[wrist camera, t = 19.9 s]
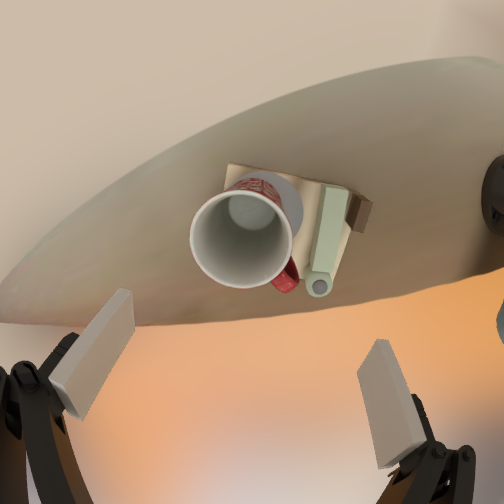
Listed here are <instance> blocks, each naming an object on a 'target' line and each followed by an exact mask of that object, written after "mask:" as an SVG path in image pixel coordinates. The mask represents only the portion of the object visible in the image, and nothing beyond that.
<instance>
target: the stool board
mask: <svg viewBox="0 0 504 504" xmlns="http://www.w3.org/2000/svg"><path fill="white" fill-rule="evenodd" d="M259 171H262V172H271V173H275V174H277V175H280V176H282V177H283V178H285V179H286V180H288V181H289V182H290V183H291V184H292V185H293V186H294V187H295V188H296V190H297V191H298V193H299V195H300V197H301V200H302V204H303V211H304V213H303V221H302V224H301V227H300V229H299V231H298V233H297V234H296V236H295V237H294V238H293V248H292V253H291V256H292V258H293V260H294V262H295V265H296V268H297V270H298V274H299V279H305V278H304V271H305V269H306V267H307V266H308V265H310V261H309V260H310V255H311V249H312V244H313V238H314V232H315V226H316V220H317V214H318V207H319V201H320V194H321V187H322V182H318V181H314V180H310V179H306V178H302V177H297V176H293V175H289V174H284V173H280V172H275V171H271V170H266V169H261V168H256V167H251V166H246V165H240V164H235V163H229V164H228V168H227V173H226V179H225V185H224V191H225V190H227V189H228V188H229V186H230V185H231V184H232V183H233V182H234V181H235V180H237V179H238V178H240V177H241V176H243V175H246V174H248V173H252V172H259ZM347 190H348V189H347ZM224 191H223V192H224ZM372 204H373V203H372V202H371V201H369V200H368V199H367V198H365V197H364V196H363V195H361V194H360V193H358V192H355V191H351V190H349V193H348V199H347V204H346V210H345V215H344V221H343V226H342V231H341V236H340V241H339V246H338V250H337V255H336V260H335V264H334V268H333V273H329V274H330V277H331V279H332V282H333V280H334V277H335V274H336V272H337V269H338V266H339V263H340V260H341V258H342V255H343V252H344V249H345V246H346V243H347V240H348V237H349V234H350V231H351V229H352V230H353V231H357V232H361V233H363V232H364V229H365V226H366V223H367V220H368V217H369V213H370V210H371V207H372Z"/></svg>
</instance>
